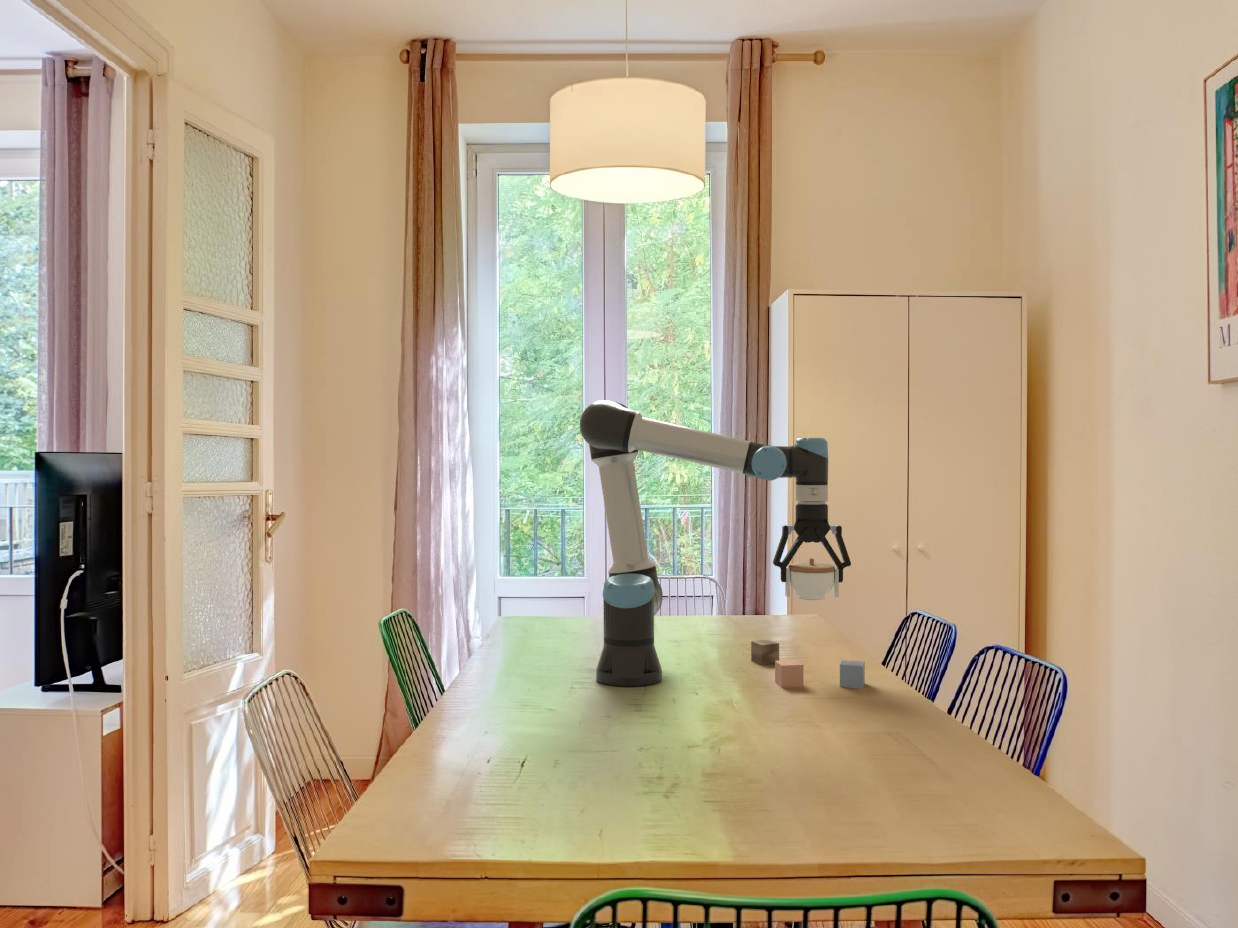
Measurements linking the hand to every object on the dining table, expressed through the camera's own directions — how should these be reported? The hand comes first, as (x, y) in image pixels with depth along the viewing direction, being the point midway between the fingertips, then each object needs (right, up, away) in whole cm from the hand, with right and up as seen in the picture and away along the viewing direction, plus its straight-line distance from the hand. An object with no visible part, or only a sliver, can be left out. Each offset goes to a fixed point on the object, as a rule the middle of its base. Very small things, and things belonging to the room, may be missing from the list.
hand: (811, 596), depth 233 cm
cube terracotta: (-7, -18, -12) cm, 23 cm away
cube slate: (+6, -18, -13) cm, 23 cm away
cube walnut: (-9, -18, +11) cm, 23 cm away
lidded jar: (0, -1, 0) cm, 1 cm away
